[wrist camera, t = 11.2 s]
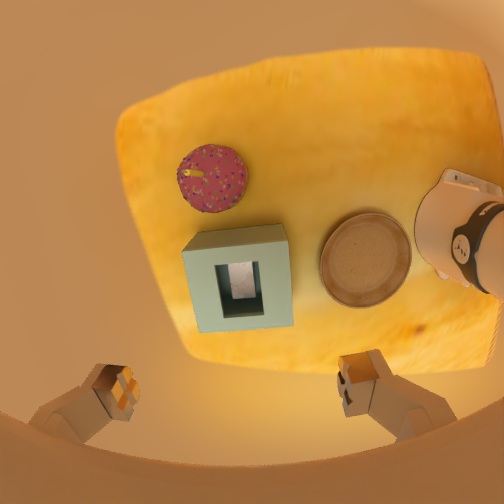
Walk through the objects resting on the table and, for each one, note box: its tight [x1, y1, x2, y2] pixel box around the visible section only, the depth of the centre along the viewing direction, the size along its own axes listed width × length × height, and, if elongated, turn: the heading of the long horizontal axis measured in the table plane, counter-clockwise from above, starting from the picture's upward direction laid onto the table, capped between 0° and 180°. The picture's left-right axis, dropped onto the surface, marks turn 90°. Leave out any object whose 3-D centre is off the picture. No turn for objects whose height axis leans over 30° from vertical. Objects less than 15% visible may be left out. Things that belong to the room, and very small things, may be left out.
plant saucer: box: [320, 213, 412, 309], centre depth 40 cm, size 15×15×3 cm
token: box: [228, 262, 256, 299], centre depth 39 cm, size 3×5×5 cm, turn 6°
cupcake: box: [177, 144, 248, 213], centre depth 32 cm, size 9×8×12 cm
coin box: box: [182, 224, 294, 333], centre depth 37 cm, size 12×11×9 cm
